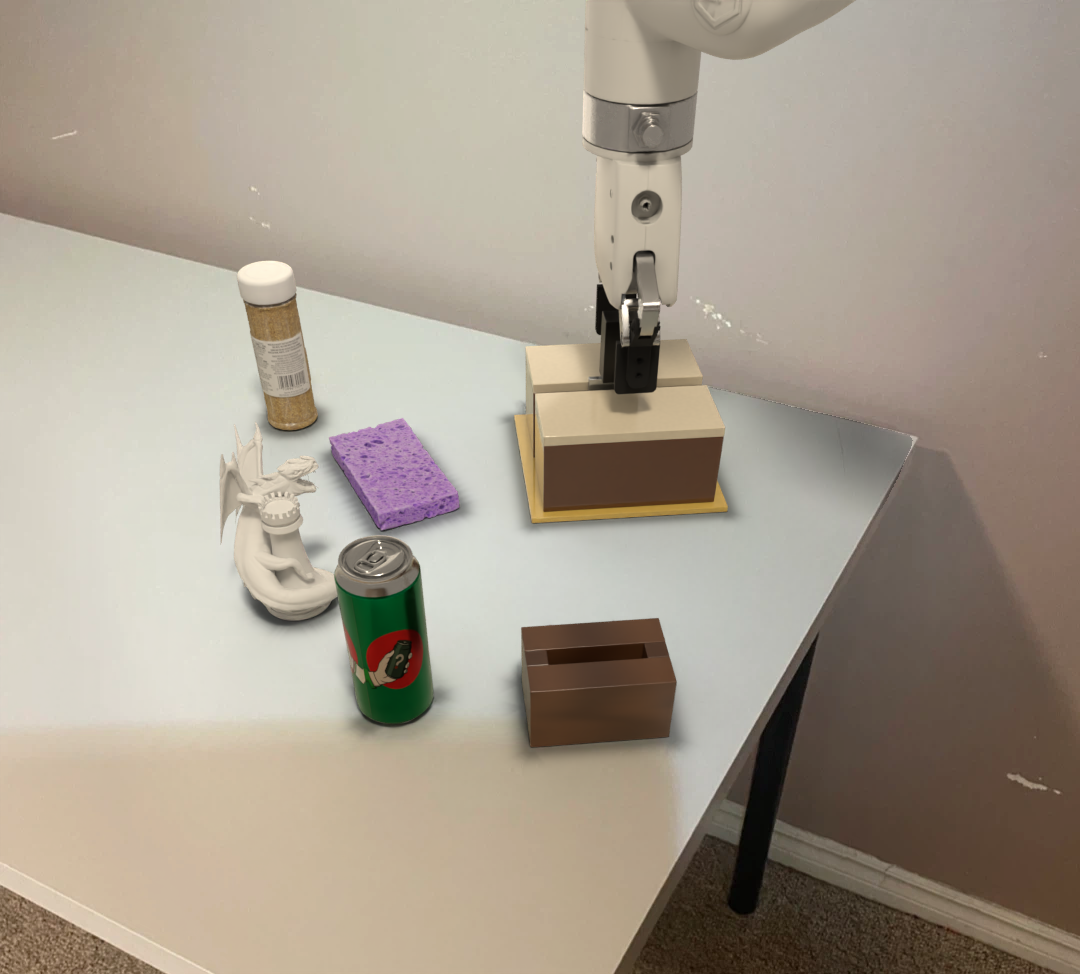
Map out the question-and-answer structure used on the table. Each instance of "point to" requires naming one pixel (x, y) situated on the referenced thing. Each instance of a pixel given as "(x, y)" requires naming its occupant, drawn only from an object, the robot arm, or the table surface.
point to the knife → (608, 350)
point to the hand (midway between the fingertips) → (624, 361)
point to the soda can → (385, 628)
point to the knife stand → (596, 682)
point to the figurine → (273, 532)
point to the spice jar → (278, 343)
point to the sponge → (393, 474)
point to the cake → (617, 439)
